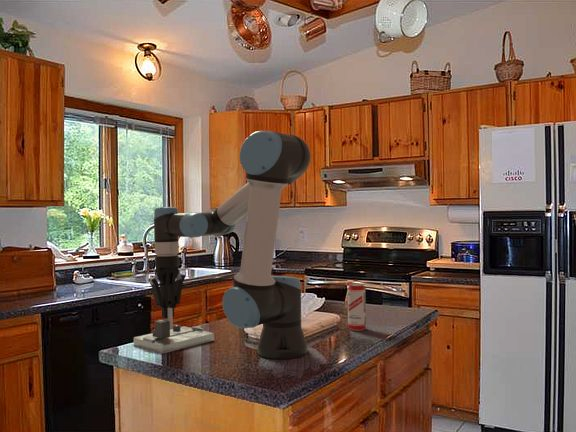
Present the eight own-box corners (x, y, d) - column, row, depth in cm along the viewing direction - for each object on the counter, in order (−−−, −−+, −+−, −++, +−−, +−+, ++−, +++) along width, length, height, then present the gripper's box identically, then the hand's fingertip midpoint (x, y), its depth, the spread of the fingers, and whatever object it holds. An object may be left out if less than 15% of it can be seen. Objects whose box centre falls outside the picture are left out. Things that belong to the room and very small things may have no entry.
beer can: (364, 332, 181) (363, 286, 181) (346, 330, 184) (345, 285, 183) (367, 328, 187) (366, 283, 187) (350, 327, 189) (349, 282, 189)
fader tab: (170, 336, 167) (169, 320, 167) (162, 338, 165) (161, 322, 165) (162, 334, 170) (162, 319, 170) (154, 336, 168) (154, 320, 167)
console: (213, 340, 173) (213, 328, 173) (162, 353, 158) (162, 340, 158) (184, 333, 184) (184, 322, 183) (133, 344, 169) (133, 332, 169)
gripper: (176, 252, 176) (178, 322, 176) (142, 256, 166) (144, 330, 167) (190, 253, 171) (191, 325, 171) (156, 257, 161) (157, 333, 162)
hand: (168, 327), depth 169 cm, fingers closed
